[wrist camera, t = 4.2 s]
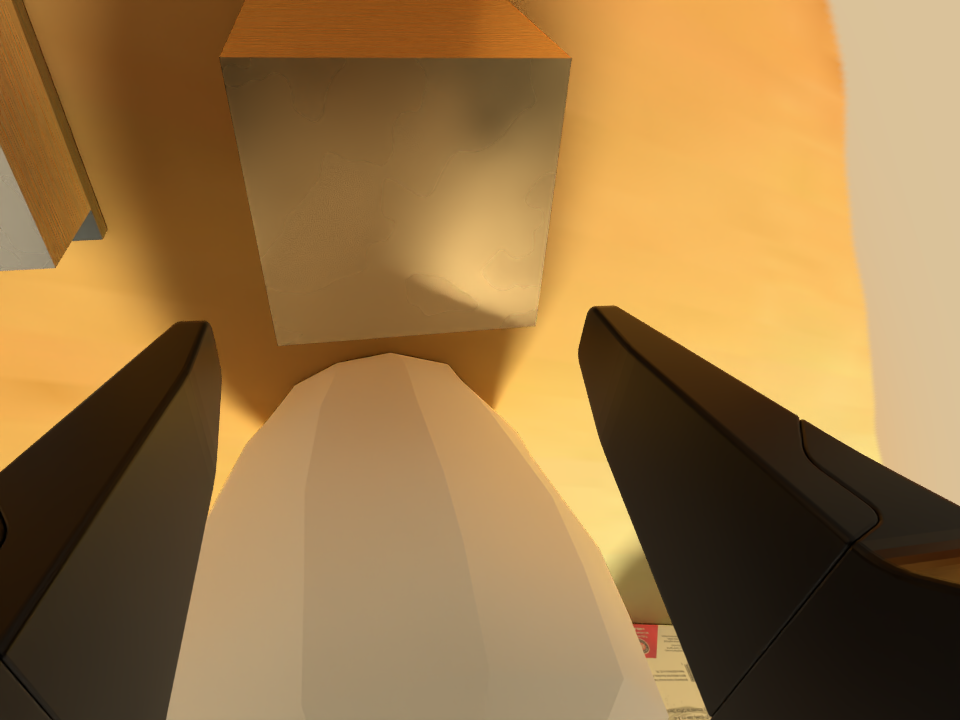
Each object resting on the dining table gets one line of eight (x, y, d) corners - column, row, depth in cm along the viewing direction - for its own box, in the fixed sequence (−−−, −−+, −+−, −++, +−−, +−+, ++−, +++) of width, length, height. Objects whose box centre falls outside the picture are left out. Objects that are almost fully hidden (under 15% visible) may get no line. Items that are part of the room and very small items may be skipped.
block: (474, 185, 21) (535, 326, 15) (290, 191, 20) (277, 345, 14) (484, -21, 17) (571, 58, 11) (257, -27, 16) (219, 57, 10)
